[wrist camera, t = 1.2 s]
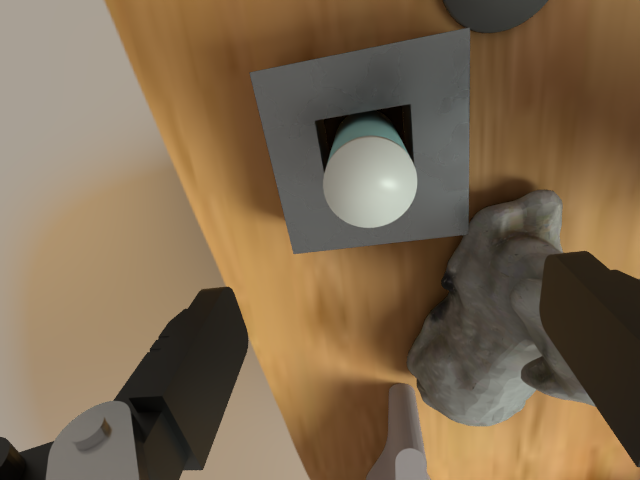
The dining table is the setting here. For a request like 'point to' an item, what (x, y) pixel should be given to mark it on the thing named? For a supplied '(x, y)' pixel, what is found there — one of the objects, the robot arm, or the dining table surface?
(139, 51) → the dining table surface
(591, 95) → the dining table surface
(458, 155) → the housing
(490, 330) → the sculpture
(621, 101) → the dining table surface
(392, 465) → the grey piece
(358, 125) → the teal canister
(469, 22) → the coaster
